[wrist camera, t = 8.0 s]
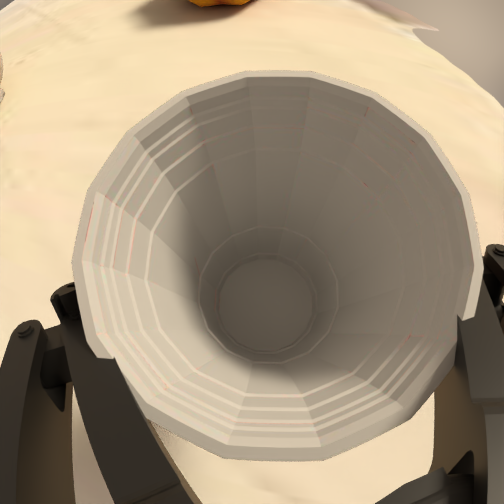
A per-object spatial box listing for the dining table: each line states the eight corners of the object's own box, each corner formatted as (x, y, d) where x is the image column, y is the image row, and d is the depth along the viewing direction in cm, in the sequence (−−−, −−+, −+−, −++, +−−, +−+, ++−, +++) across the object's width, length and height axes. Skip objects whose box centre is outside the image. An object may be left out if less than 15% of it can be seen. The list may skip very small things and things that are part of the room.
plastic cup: (162, 232, 20) (80, 94, 8) (330, 208, 20) (397, 62, 9) (182, 410, 16) (79, 480, 5) (367, 377, 17) (515, 385, 6)
